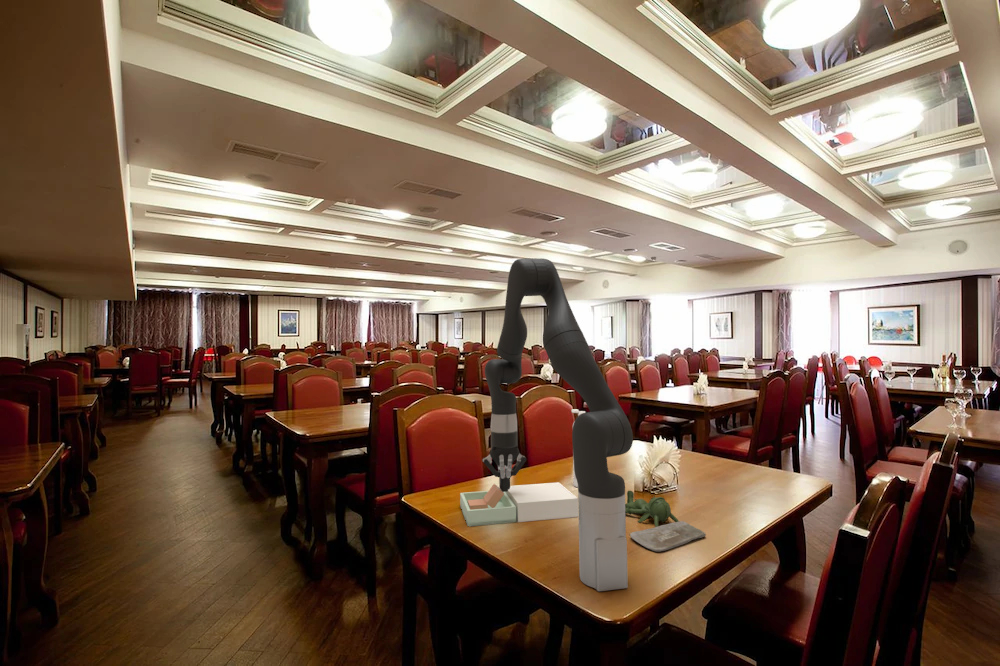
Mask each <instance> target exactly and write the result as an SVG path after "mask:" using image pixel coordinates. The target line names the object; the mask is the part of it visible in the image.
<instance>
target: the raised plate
mask: <svg viewBox="0 0 1000 666" xmlns="http://www.w3.org/2000/svg"><path fill="white" fill-rule="evenodd" d="M505 493H506V494H507V495H508V497H509V498H510V499H511V501H512V502H513V504H514V505H515V506H516V522H517V523H522V522H523V523H524V522H534V521H544V520H545V521H546V520H548V521H549V520H557V519H568V518H579V513H578V496H576V495H575V494H574V493H572V492H571V491H570V490H569V489H567V487H565V486H564V485H563V484H561V482H558V481H557V482H546V483H544V482H543V483H531V484H518V485H515V484H514V485H510V489H508V491H507V492H505Z"/></svg>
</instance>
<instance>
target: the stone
mask: <svg viewBox="0 0 1000 666" xmlns="http://www.w3.org/2000/svg"><path fill="white" fill-rule="evenodd" d="M678 521H679V520H678ZM706 535H707V534H706V532H704V531H703V530H702V529H699V528H697V527H696V526H694V525H691V524H690V523H688V522H687V521H686V522H685V521H684V520H682V521H681V520H680V521H679V522H675V521H673V522H670V523H667V524H661V525H659V526H658V527H655V526H654V527H651V528H646V529H643V530H642V529H641V530H636V531H632V532H631V533H629V537H630V538H631V539H632V540H633V541H635V542H636V543H638V544H640V545H641V546H643V547H644V548H646V549H648V550H650V551H653V552H655V553H658V552H665V551H668V550H671V549H674V548H676V547H677V548H678V547H680V546H683V545H685V544H688V543H690V542H691V541H693V540H698V539H701V538H703V537H706Z"/></svg>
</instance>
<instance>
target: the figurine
mask: <svg viewBox="0 0 1000 666" xmlns="http://www.w3.org/2000/svg"><path fill="white" fill-rule="evenodd" d="M634 495H635V493H634V492H633V490H627V492H626V497H627V498H626V499H627V500H626V502H625V514H629V515H632V514H642V516H641V517H640V518H639V519H638V520H637V524H639V523H640V524H641V523H642V522H644V521H646V520H648V518H649V517H651V518H652V519H653V523H654V528H655V527H658V526H660V525H659V522H661V523H664V522H666V521H667V519H668V518H670V519H671V520H672V521H673V522H679V519H678V518H677V517H676V516H675V515H674V514H673V513H672V510H671V506H670V503H669V502H667V501H666V499H665V498H664V497H662V496H658V497H657V496H655V495H654V496H653V497H651V498H650V499H649V501H648V502H647V501H646V500H645V499H643V498H638V499H636V498H635V497H634Z"/></svg>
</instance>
